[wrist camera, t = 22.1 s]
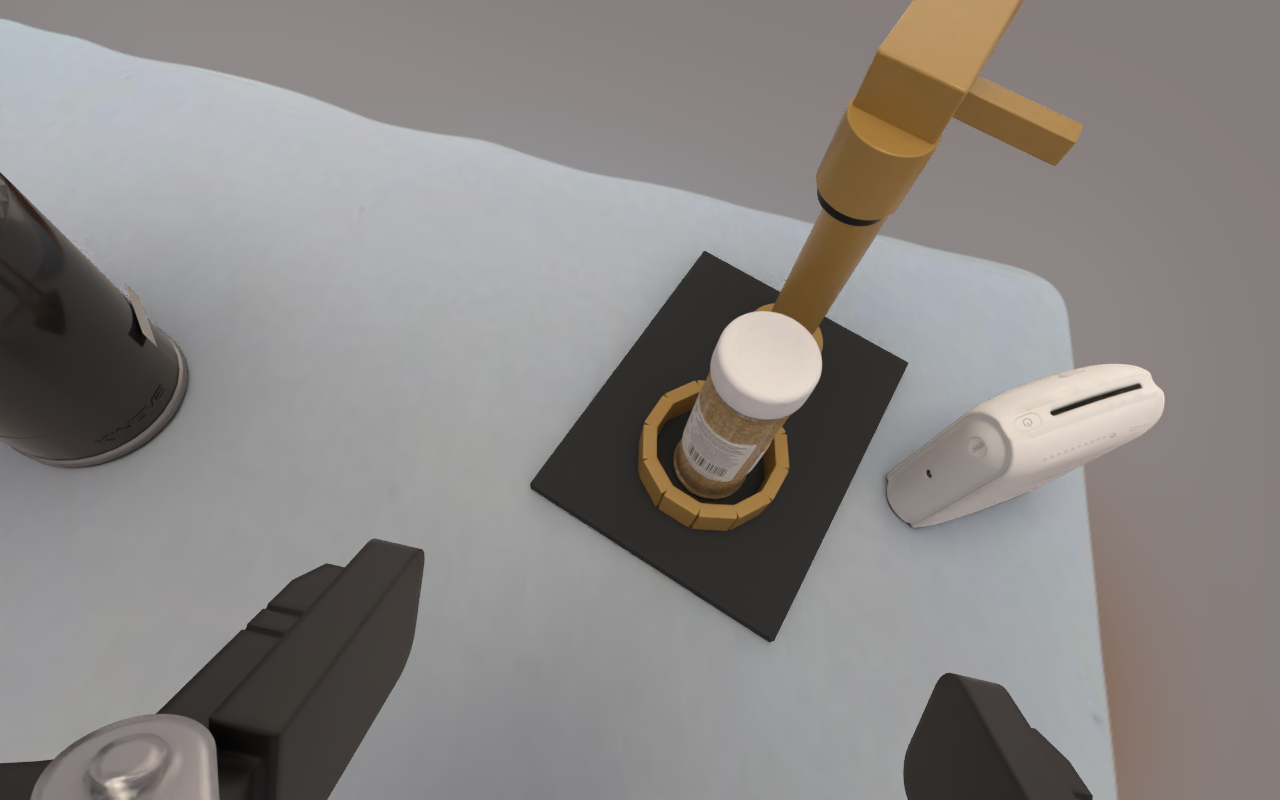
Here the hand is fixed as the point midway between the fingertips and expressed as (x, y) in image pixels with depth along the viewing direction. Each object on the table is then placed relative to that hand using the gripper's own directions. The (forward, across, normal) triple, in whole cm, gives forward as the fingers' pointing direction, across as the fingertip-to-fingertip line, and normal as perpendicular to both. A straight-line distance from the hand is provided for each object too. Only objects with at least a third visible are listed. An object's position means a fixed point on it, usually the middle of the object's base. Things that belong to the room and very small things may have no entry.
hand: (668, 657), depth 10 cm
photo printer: (+31, -20, +7) cm, 37 cm away
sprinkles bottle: (+28, -4, +8) cm, 30 cm away
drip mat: (+31, -5, +6) cm, 32 cm away
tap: (+31, -6, +6) cm, 32 cm away
